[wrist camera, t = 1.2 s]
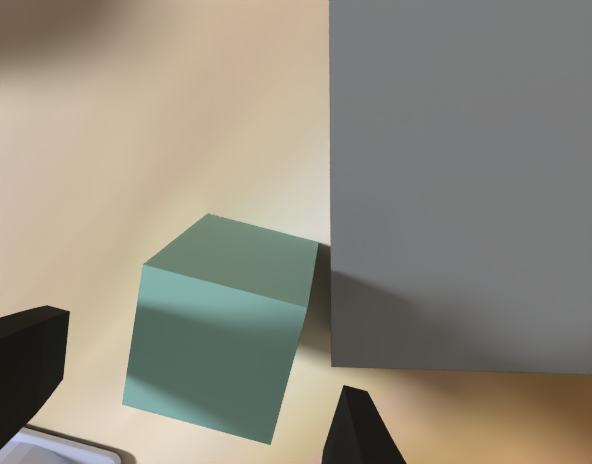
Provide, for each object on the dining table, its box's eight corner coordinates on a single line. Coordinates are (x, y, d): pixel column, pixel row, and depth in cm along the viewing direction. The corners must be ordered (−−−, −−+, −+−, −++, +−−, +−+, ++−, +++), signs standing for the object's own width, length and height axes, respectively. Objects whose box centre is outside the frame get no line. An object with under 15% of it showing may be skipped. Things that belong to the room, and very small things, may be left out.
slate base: (646, 340, 17) (696, 377, 15) (332, 333, 18) (331, 366, 16) (716, -6, 14) (792, -29, 12) (331, 12, 15) (328, -5, 13)
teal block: (292, 341, 19) (270, 445, 13) (188, 314, 19) (121, 404, 13) (318, 242, 18) (307, 307, 12) (207, 213, 18) (143, 264, 12)
